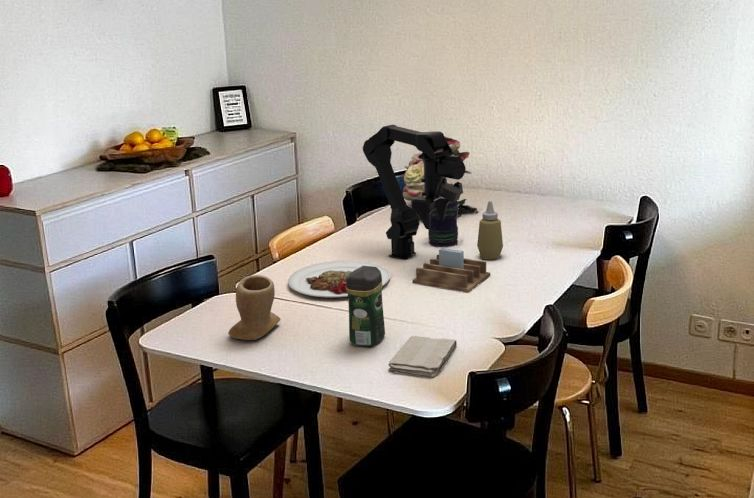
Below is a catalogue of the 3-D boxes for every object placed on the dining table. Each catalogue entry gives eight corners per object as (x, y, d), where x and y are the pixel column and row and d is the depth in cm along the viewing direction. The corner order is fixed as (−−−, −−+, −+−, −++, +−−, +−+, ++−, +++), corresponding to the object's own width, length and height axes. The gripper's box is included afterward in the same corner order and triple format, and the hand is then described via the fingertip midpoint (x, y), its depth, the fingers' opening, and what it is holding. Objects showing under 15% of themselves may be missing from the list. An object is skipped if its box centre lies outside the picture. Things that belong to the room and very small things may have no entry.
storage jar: (443, 249, 274) (442, 205, 269) (422, 243, 281) (421, 199, 276) (464, 242, 280) (464, 198, 275) (443, 236, 287) (442, 193, 282)
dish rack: (412, 283, 246) (411, 268, 244) (436, 267, 258) (435, 253, 256) (468, 292, 236) (468, 277, 235) (490, 275, 248) (490, 261, 247)
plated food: (342, 259, 269) (342, 249, 268) (411, 280, 248) (410, 269, 247) (267, 285, 249) (266, 275, 248) (335, 310, 229) (334, 299, 228)
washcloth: (386, 374, 192) (386, 362, 191) (410, 342, 208) (410, 330, 207) (436, 381, 188) (436, 368, 187) (457, 347, 204) (457, 336, 203)
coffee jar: (360, 330, 215) (356, 261, 209) (388, 334, 212) (386, 264, 206) (344, 345, 206) (340, 274, 201) (374, 349, 204) (371, 278, 198)
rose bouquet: (419, 201, 331) (417, 125, 322) (484, 210, 315) (484, 131, 305) (381, 217, 312) (377, 137, 302) (449, 228, 295) (447, 144, 286)
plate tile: (439, 275, 248) (438, 249, 245) (442, 273, 249) (442, 247, 247) (460, 279, 244) (460, 253, 242) (463, 276, 246) (463, 250, 243)
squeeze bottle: (502, 261, 260) (502, 205, 254) (476, 260, 262) (475, 205, 256) (503, 253, 267) (504, 198, 262) (478, 252, 269) (478, 198, 263)
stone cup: (263, 346, 208) (258, 290, 203) (222, 340, 213) (216, 285, 208) (293, 323, 221) (288, 269, 216) (254, 317, 226) (248, 265, 221)
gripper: (443, 184, 239) (444, 236, 244) (471, 170, 254) (472, 219, 259) (409, 180, 244) (410, 232, 249) (438, 167, 259) (439, 215, 264)
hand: (434, 224), depth 255 cm, fingers open, 9 cm apart
